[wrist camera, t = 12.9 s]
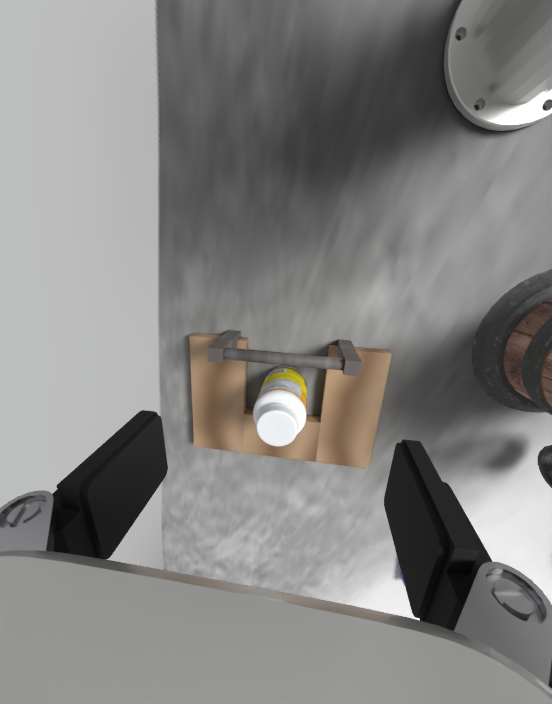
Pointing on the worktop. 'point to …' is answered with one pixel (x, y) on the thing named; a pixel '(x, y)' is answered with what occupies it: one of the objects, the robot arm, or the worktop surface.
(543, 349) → the tankard
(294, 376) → the supplement bottle
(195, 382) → the shelf board
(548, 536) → the worktop surface
